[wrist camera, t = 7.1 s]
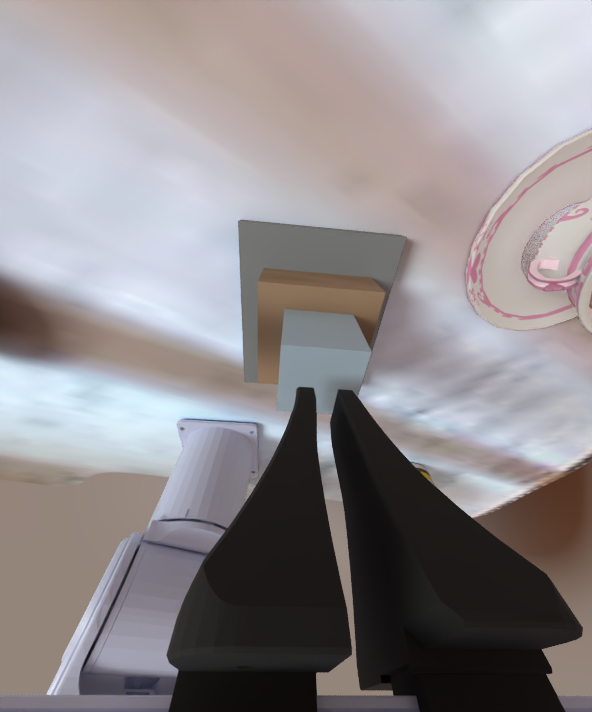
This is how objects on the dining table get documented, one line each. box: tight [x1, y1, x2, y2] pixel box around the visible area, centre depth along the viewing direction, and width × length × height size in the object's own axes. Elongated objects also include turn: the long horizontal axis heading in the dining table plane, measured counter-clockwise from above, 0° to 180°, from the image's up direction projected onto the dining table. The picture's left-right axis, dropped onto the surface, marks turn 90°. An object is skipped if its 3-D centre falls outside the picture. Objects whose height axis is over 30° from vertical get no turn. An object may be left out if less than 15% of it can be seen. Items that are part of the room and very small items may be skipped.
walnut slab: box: [258, 268, 386, 384], centre depth 16 cm, size 7×7×3 cm
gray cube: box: [276, 309, 372, 414], centre depth 13 cm, size 4×4×4 cm
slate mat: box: [238, 220, 407, 389], centre depth 18 cm, size 12×10×1 cm
